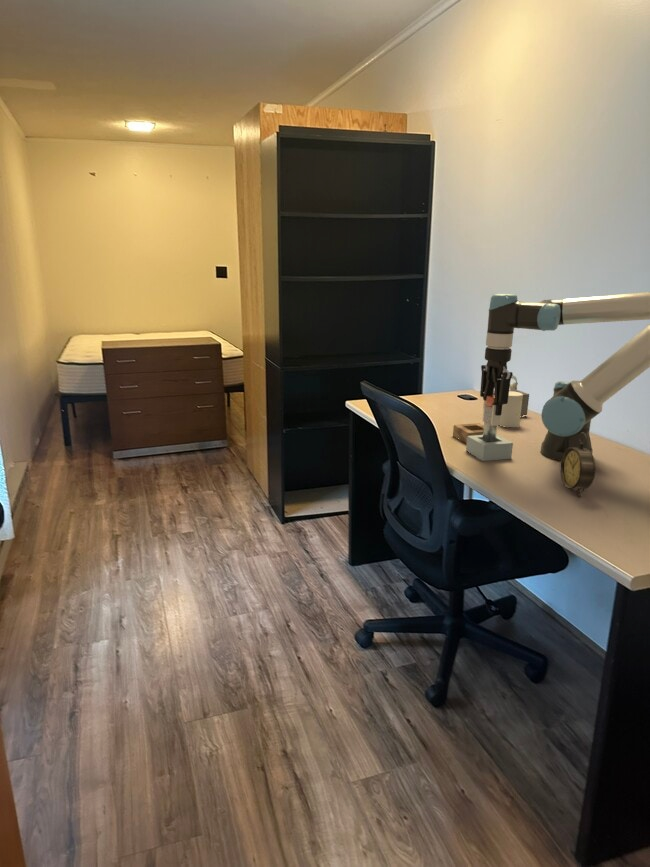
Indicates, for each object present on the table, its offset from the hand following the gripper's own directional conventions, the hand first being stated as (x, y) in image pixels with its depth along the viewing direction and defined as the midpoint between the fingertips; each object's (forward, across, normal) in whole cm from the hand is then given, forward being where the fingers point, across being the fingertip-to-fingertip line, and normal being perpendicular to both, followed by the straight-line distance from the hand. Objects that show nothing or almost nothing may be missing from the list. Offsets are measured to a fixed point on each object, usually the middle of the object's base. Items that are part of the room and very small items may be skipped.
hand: (491, 422), depth 182 cm
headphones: (+7, +44, -38) cm, 59 cm away
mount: (+10, +16, -4) cm, 19 cm away
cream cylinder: (+11, +29, -26) cm, 40 cm away
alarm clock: (+10, -33, -6) cm, 35 cm away
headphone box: (+10, +42, -34) cm, 55 cm away
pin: (+6, 0, 0) cm, 6 cm away
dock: (+10, 0, 0) cm, 10 cm away
